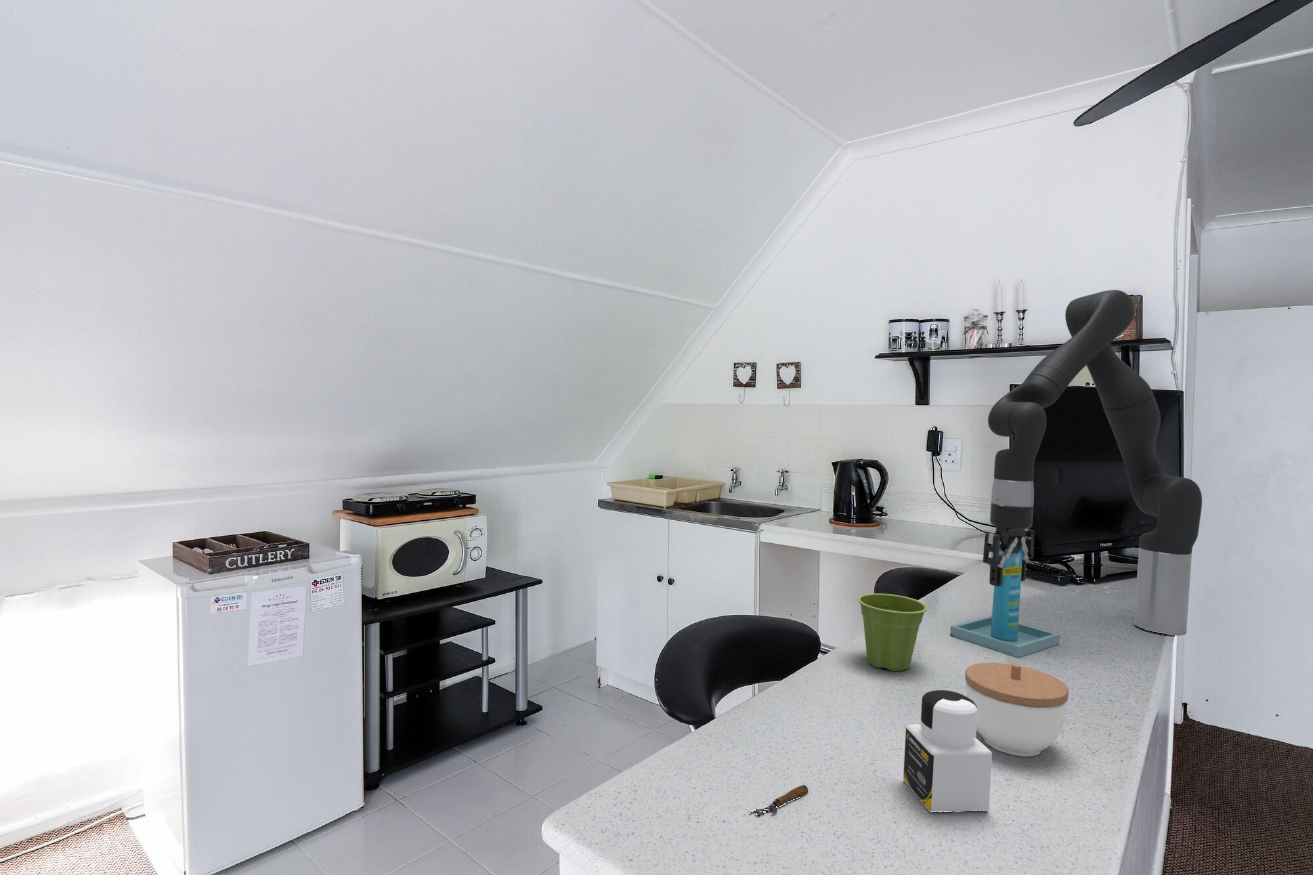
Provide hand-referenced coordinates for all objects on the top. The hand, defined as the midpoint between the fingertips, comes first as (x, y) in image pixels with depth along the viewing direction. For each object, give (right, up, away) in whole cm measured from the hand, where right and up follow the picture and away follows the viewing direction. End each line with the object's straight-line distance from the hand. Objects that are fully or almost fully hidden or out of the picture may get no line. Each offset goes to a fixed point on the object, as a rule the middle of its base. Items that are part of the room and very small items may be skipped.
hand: (1007, 582), depth 140 cm
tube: (0, -11, +1) cm, 11 cm away
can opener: (-56, -13, -60) cm, 83 cm away
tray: (0, -12, +1) cm, 12 cm away
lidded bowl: (-21, -13, -44) cm, 50 cm away
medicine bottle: (-36, -14, -57) cm, 69 cm away
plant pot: (-29, -12, -15) cm, 34 cm away
